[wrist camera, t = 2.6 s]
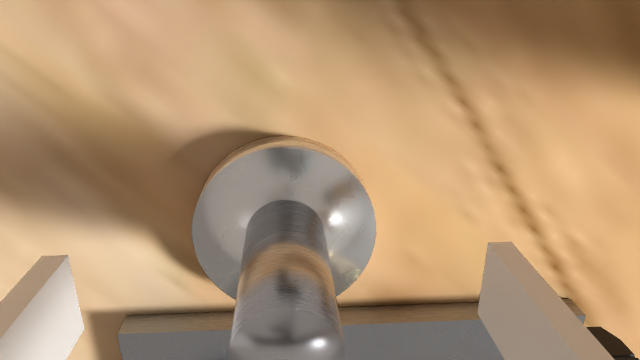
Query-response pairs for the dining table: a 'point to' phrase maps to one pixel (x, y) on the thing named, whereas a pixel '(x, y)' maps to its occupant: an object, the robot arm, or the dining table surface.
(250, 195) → the silver round-based piece
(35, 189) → the dining table surface
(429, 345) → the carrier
